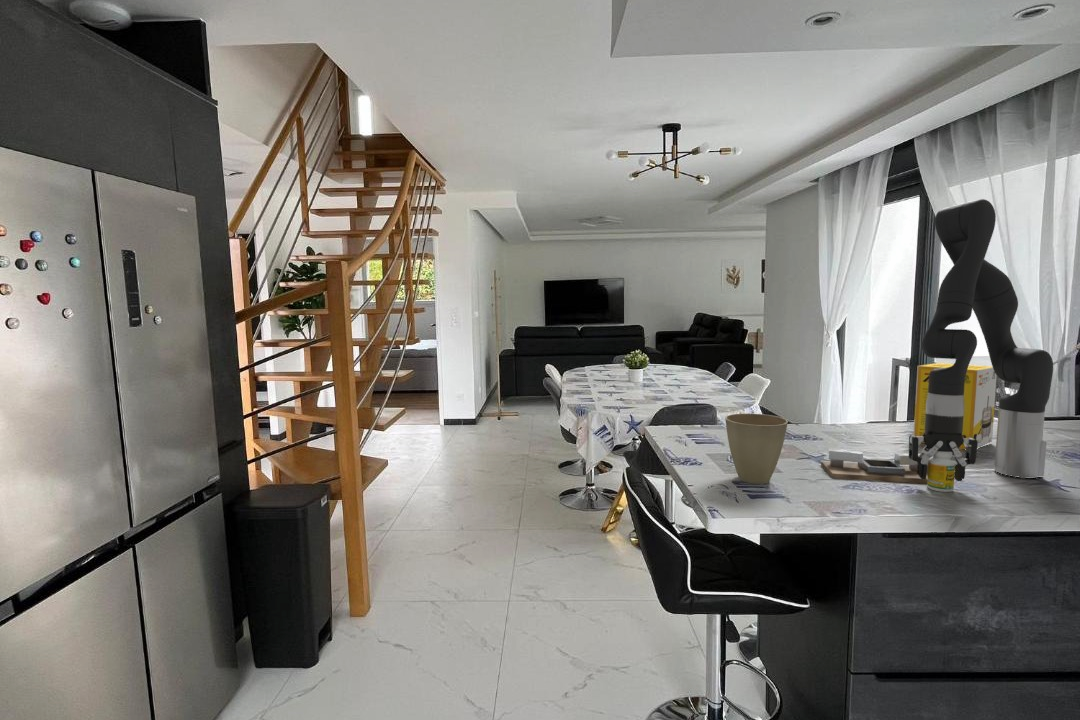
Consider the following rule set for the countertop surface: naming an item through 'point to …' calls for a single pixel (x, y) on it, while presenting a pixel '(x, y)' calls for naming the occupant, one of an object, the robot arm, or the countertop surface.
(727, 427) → the plant pot
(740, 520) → the countertop surface
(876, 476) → the walnut base board
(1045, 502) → the countertop surface
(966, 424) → the packaging box
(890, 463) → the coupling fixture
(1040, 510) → the countertop surface
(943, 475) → the supplement bottle
